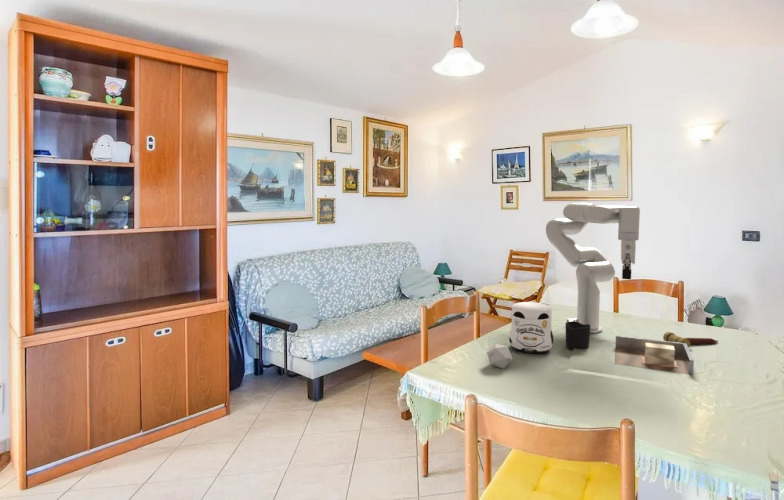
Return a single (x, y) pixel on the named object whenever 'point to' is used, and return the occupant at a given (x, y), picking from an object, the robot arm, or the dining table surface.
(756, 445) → the dining table surface
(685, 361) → the metal walls
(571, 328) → the pen holder
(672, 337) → the gavel
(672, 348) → the maple block
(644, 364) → the walnut board
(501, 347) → the die
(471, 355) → the dining table surface
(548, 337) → the milk container
